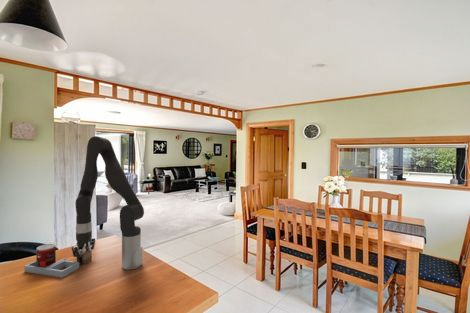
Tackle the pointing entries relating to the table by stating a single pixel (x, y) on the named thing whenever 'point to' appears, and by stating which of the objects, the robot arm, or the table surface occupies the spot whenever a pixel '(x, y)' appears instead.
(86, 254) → the walnut cube
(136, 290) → the table surface
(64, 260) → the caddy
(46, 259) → the canned food
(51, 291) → the table surface
